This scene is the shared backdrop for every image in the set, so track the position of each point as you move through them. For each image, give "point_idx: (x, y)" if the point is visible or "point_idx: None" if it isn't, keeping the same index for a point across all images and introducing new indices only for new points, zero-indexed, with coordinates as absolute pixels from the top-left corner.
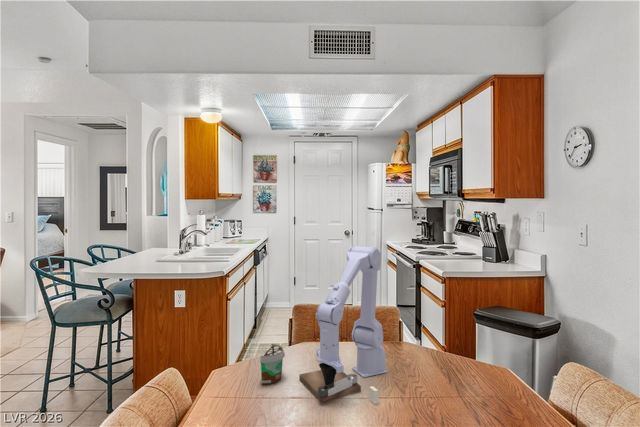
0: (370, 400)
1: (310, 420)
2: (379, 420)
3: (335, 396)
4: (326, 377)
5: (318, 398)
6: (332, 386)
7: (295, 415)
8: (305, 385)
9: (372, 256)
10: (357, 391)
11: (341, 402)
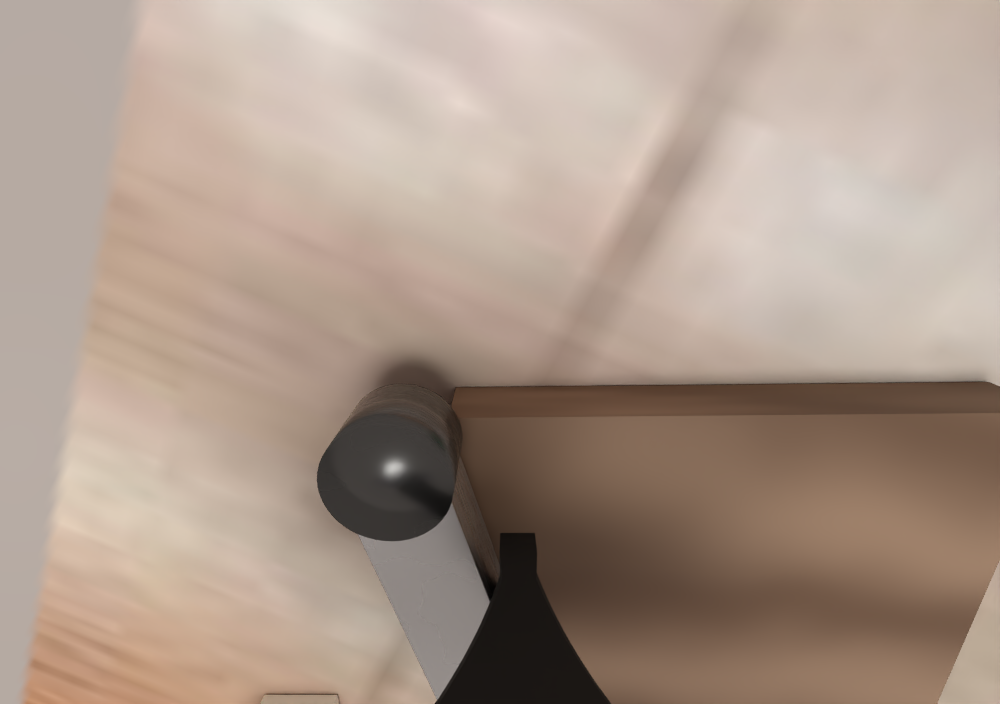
0: (318, 699)
1: (136, 150)
2: (48, 629)
3: None
4: (474, 644)
5: (497, 393)
6: (411, 592)
7: (277, 24)
8: (825, 388)
9: None
10: None
11: None
